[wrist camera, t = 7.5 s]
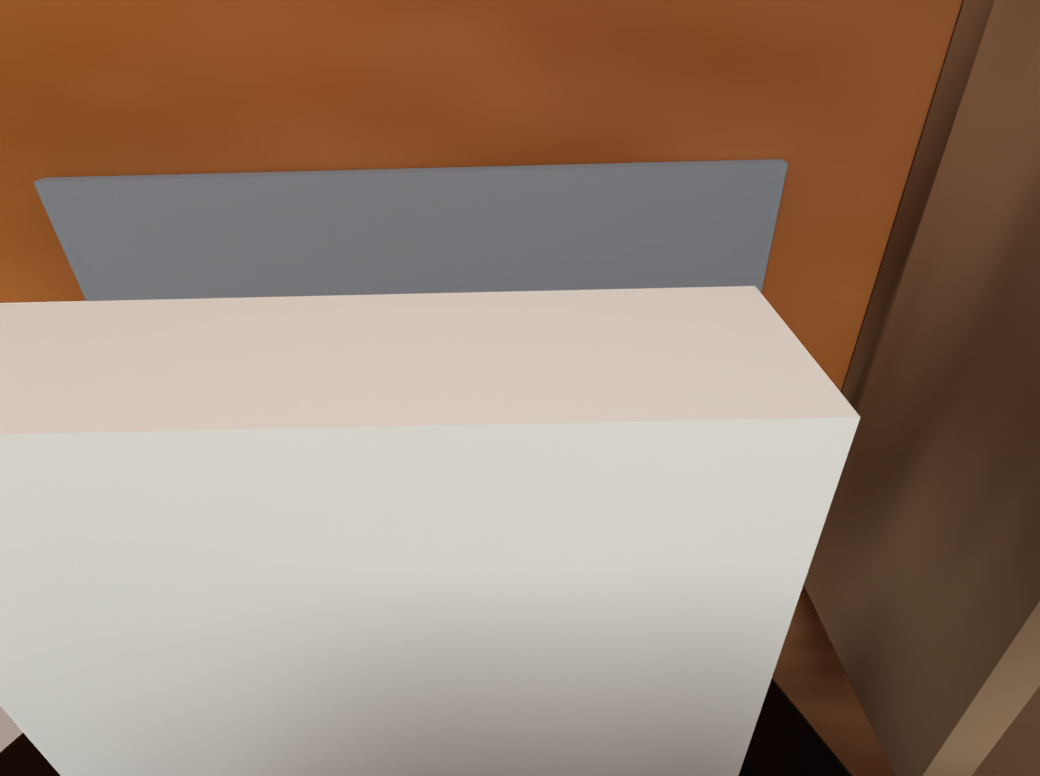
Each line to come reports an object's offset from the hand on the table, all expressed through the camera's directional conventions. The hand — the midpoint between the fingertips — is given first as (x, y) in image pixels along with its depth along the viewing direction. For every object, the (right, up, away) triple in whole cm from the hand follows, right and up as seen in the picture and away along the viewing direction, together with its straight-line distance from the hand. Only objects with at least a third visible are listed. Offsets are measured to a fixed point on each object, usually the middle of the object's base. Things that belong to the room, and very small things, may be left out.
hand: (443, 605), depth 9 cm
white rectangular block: (0, 0, -1) cm, 1 cm away
